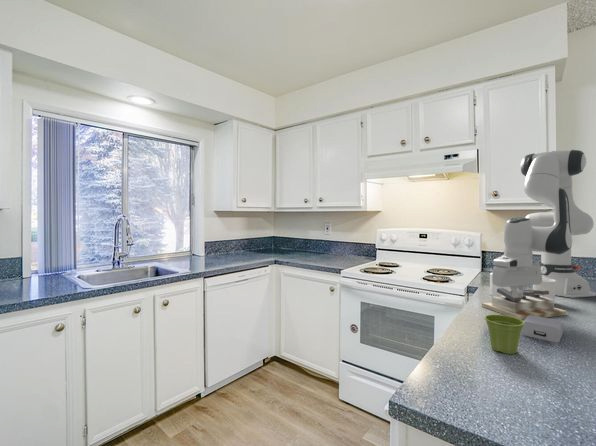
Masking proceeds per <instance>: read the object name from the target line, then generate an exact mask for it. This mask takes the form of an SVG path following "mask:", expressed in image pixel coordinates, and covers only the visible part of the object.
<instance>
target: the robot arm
mask: <svg viewBox="0 0 596 446" xmlns="http://www.w3.org/2000/svg"><path fill="white" fill-rule="evenodd" d="M586 165H587V157H586V155H585V153H584V152H583V151H581V150H577V149H571V150H551V151H546V152H538V153H529V154H526V155H525V156H524V157H523V158H522V159H521V162H520V166H519V168H520V173H521V174H522V175H523V176H525V180H524V183H523V184H524V185H523V190H524V193H525V194H526V196H527V197H529V198H530V199H531V200H533V201H536V202H539V203H541V204H544V205H545V206H547V207H550V208H552V209H553V211H549V212H548V211H546V212H545V211H544V212H533V213H529V214H527V215H526V216H525V217H513V218H509V219H507V220H506V221H505V226H504V231H503V232H504V234H503V243H504V249H503V250H504V251H503V254H502V255H501V256H499V257H498V256H497V258H495V259H493V260H492V265H494V266H493V268H492V272H491V273H492V281H493V284H494V285H495V286H499V287H509V286H510V289H511V291H512V296H513V297H515V298H518V297H523V292H524V290H526V286H533V285H537V284H541V283H542V278H548V279H553V280H556V288H555V296H560V297H566V298H586V297H596V292H595V291H591V287H590V282H589V281H588V280H587V279H586V278H584V277H582V276H581V275H580V274H578V273H576V271H580V270H581V266H580V265H573V264H572V245H573V238H572V237H573V236H580V235H587V234H589V233H590V232H591V231H592V229H594V225H595V224H594V223H595V222H594V219H593V218H592V216H591V215H590V214H589V213H587V212H585V211H583V210H582V209H580V208H579V207H578V206H577V204H576V203H575V201H574V195H573V176H576V175H579V174H580V173H583V171H584V169H585V168H586ZM533 252H534V253H535V252H536V253H540V255H541V256H540V257H541V260H540V261H541V262H539V261H537V259H533ZM518 287H519V288H518Z"/></svg>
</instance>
